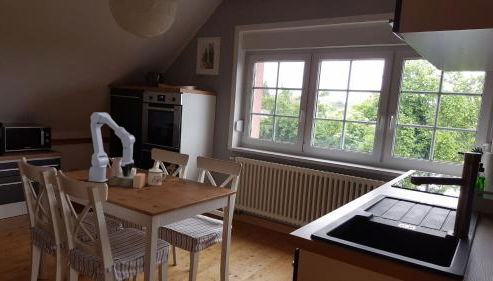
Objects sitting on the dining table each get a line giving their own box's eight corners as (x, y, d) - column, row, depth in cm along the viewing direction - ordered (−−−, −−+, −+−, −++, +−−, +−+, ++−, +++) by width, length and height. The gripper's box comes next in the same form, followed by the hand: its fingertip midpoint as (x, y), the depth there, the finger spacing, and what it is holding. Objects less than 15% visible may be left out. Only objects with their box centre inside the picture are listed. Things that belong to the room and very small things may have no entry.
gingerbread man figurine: (176, 179, 246) (177, 163, 245) (178, 180, 243) (180, 164, 242) (164, 180, 240) (165, 163, 239) (167, 181, 237) (168, 164, 236)
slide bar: (117, 180, 217) (118, 169, 216) (119, 179, 220) (120, 169, 219) (139, 183, 216) (139, 171, 215) (141, 182, 219) (141, 171, 218)
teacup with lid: (151, 186, 221) (152, 168, 220) (145, 183, 227) (146, 165, 226) (168, 184, 229) (169, 167, 228) (161, 181, 235) (162, 164, 234)
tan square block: (132, 187, 214) (133, 175, 213) (137, 184, 222) (138, 173, 221) (140, 188, 213) (140, 176, 213) (144, 185, 221) (145, 173, 221)
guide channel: (108, 184, 216) (109, 177, 216) (112, 182, 222) (113, 175, 221) (132, 186, 215) (132, 179, 215) (135, 184, 221) (136, 178, 220)
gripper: (129, 156, 209) (128, 178, 210) (138, 153, 223) (137, 174, 225) (117, 155, 209) (116, 177, 211) (127, 152, 224) (126, 173, 225)
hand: (126, 175), depth 218 cm, fingers open, 4 cm apart
